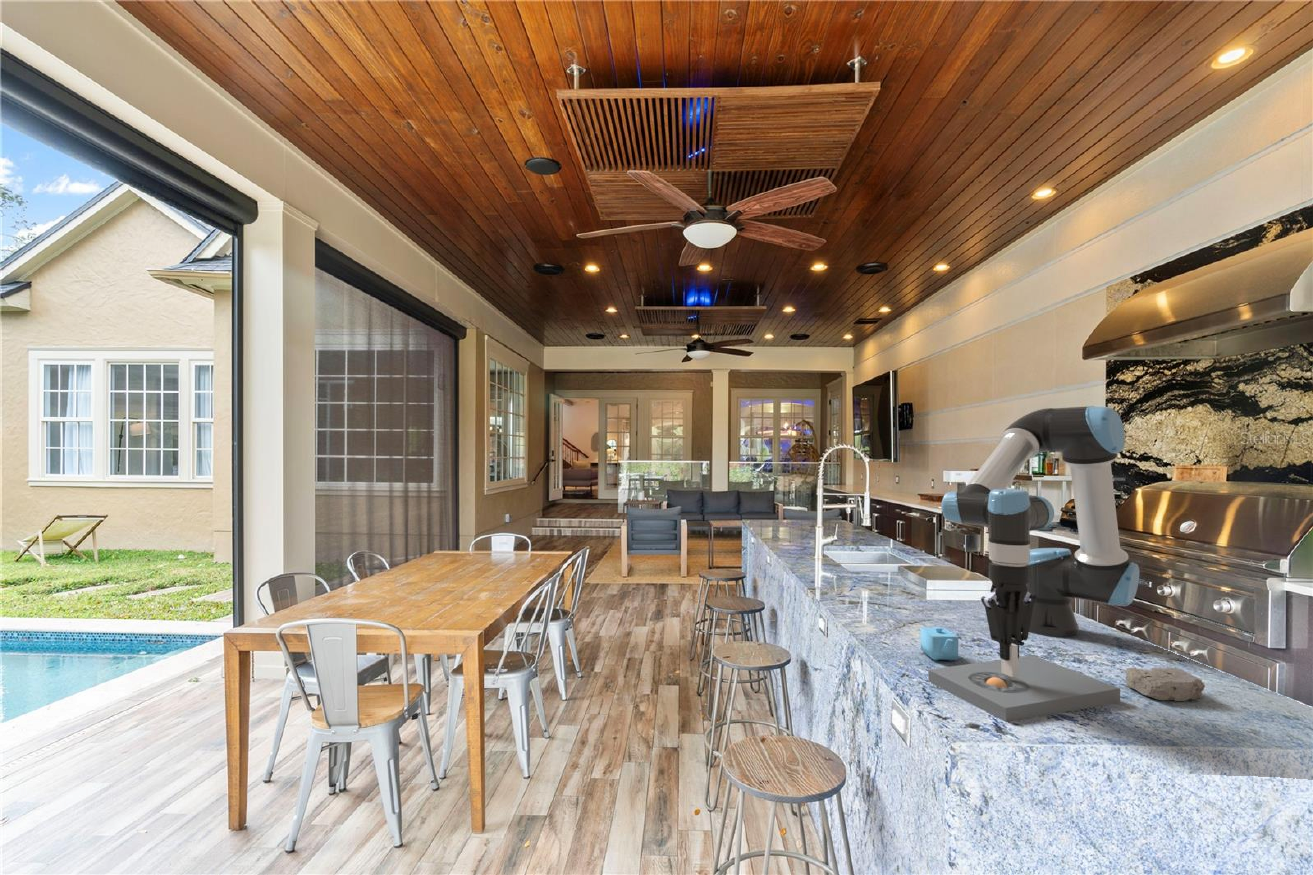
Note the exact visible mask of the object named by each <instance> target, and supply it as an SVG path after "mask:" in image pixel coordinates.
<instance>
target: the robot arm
mask: <svg viewBox="0 0 1313 875" xmlns="http://www.w3.org/2000/svg"><path fill="white" fill-rule="evenodd" d="M1125 432H1126V431H1125V427H1124V425H1123V421H1122V419H1121V416H1120V415H1119V414H1118V412H1117V411H1116V410H1115V409H1113V408H1111V407H1110V406H1094V405H1093V406H1092V405H1089V406H1075V407H1074V406H1073V407H1057V408H1054V407H1053V408H1041V409H1037V410H1033V411H1032V412H1029V413H1027V414H1025V415H1023V416H1022V417H1020V418H1018V419H1017V420H1015V421H1013V423H1011V424H1010V425H1009V426H1008V427H1006V428H1005V430H1004V431H1003V432H1002V433H1001V435H1000V437H999V439H998V442H999V444H998V445H997V446H996V447H995V448H994V449H993V451H992V452H991V454H990V455H989V456H988V457H987V459H986V460H985V462H983V464H982V466H981V467H979V469H978V470H977V472H976V473H975V475H973V477H971V479H970V481H969V482H968V483H967V484H966V485H965V487H964V488H963V489H962V490H961V491H958V490H955V491H949V492H946V493H944V495H943V497H942V500H941V508H940V509H941V512H942V516H943V517H944V519H945V521H948V522H950V523H951V522H952V523H957V524H961V525H972V526H973V525H974V526H983V527H984V526H985V527H988V559H989V560H990V562H989V563H988V578H989V580H990V581H991V587H990V593H989V594H988V595H986V596H983V595H982V597H981V598H980V600H981V602H982V605H983V606H984V610H985V615H986V619H987V625H988V628H989V634H990V635H989V636H990V638H991V641H995V642H997V643H998V644H999V657H1000V658H999V659H1000V660H1001V673H1003V674H1006V675H1008V676H1010V677H1018V659H1019V657H1020V646H1021V647H1022V646H1024V645H1025V642H1024V641H1027V640H1028V638H1029V634H1031V633H1032V634H1034V635H1040V636H1045V637H1051V638H1074V637H1078V636H1079V634H1080V632H1079V631H1080V629H1079V628H1080V626H1079V624H1078V622H1077V619H1076V617H1075V613H1074V611H1073V607H1072V599H1077V600H1084V601H1088V602H1092V603H1093V602H1094V603H1100V604H1105V605H1108V606H1116V607H1117V606H1118V607H1127V606H1129V605H1130V604H1132V603H1133V601H1134V599H1135V597H1136V594H1137V592H1138V586H1139V583H1140V567H1139V564H1137V563H1134V562H1133V561H1131V562H1130V558H1129V553H1127V551H1126V550H1124V549H1122V548H1121V544H1120V536H1119V529H1118V528H1119V527H1118V526H1119V525H1118V518H1117V508H1116V500H1115V491H1114V481H1113V472H1112V471H1113V470H1112V463H1113V462H1114V461H1116V460H1117V459H1118V454H1119V453H1121V452H1122V451H1123V450H1124V448H1125V445H1126V440H1125V437H1126V434H1125ZM1045 452H1049V453H1060V454H1061V458H1062V459H1061V460H1062V462H1064V463H1065V464H1066V465H1068V466H1069V467H1070V476H1071V477H1070V478H1071V482H1072V491H1073V499H1074V507H1075V514H1076V515H1075V516H1076V525H1077V531H1078V539H1079V546H1080V548H1078V549H1077V550H1076V551H1075V552H1074V555H1072V552H1071V550H1070V549H1069V548H1063V547H1040V548H1030V547H1031V543H1030V535H1031V533H1030V532H1032V531H1039V530H1043V529H1044V528H1046V527H1048V526H1049V525H1050V524H1051V523H1052V522H1053V520H1054V518H1055V509H1054V506H1053V505H1052V503H1051V502H1050V501H1049V500H1048V499H1046V498H1045V497H1042V496H1040V495H1031V494H1029V492H1027V491H1026V490H1024V489H1011V488H1008V487H1009V485H1010V484H1011V483H1012V481H1013V480H1014V479H1015V478H1016V476H1017V475H1018V473H1019V472H1020V471H1021V470H1022V467H1023V466H1024V465H1025V463H1026V462H1027V461H1028V460H1031V459H1033V458H1034V457H1036V456H1037V455H1038V453H1045Z"/></svg>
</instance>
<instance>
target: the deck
mask: <svg viewBox="0 0 1313 875" xmlns="http://www.w3.org/2000/svg"><path fill="white" fill-rule="evenodd" d="M927 671H928V674H927V676H928V683H930V682H931V683H930V684H931V685H934V686H936V687H938V688H939V687H940V688H939V689H942V690H944V691H946V692H947V691H948V692H947V693H949V694H951V695H953V696H955V697H956V698H959V699H960V700H963V701H964V700H965V702H966V703H968V704H971V705H972V706H974V707H975V708H978V709H980V710H982V711H984V712H986V714H987V713H988V714H989V715H992V716H994V717H996V718H997V719H999V720H1001V721H1003V722H1005V723H1008V722H1013V721H1019V720H1020V721H1021V720H1024V719H1025V720H1026V719H1031V718H1036V717H1037V716H1038V717H1041V716H1042V717H1043V716H1047V715H1048V716H1049V715H1055V714H1060V713H1066V712H1073V711H1077V710H1083V709H1088V708H1090V709H1091V708H1096V707H1101V706H1106V705H1107V706H1108V705H1112V704H1114V705H1115V704H1119V703H1121V688H1120V687H1118V686H1116V685H1113V684H1109V683H1107V682H1104V681H1102V680H1099V679H1097V678H1095V677H1092V676H1089V675H1086V674H1083V673H1080V672H1079V671H1076V670H1074V669H1070V668H1067V667H1065V666H1062V665H1060V664H1057V663H1055V662H1053V661H1049V660H1047V659H1045V658H1042V657H1038V656H1036V655H1034V654H1030V655H1024V656H1019V659H1018V677H1010V676H1008V675H1006V674H1003V673H1001V659H995V660H988V661H982V662H981V661H980V662H974V663H973V662H972V663H967V664H959V665H952V666H946V667H938V668H933V669H928V670H927ZM992 677H997V678H1000V679H1002V680H1003V681H1004V682H1005V683H1006V685H1007V688H1005V687H997V686H993V685H990V684H988V683H986V682H987V680H988V679H990V678H992Z"/></svg>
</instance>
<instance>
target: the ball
mask: <svg viewBox="0 0 1313 875" xmlns="http://www.w3.org/2000/svg"><path fill="white" fill-rule="evenodd" d="M986 683H988V684H990V685H993V686H997V687H1005V688H1007V685H1006V683H1005V682H1004V681H1003V680H1002V679H1000V678H997V677H992V678H990V679H988V680H987V682H986Z"/></svg>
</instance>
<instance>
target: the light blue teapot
mask: <svg viewBox="0 0 1313 875" xmlns="http://www.w3.org/2000/svg"><path fill="white" fill-rule="evenodd" d="M920 650H921V651H922V652H923V653H925V656H928V657H929V658H930V659H931V660H932V659H933V660H932V661H939V660H943V661H944V660H945V661H946V660H947V661H951V662H952V661H954V660H956V661H957V660H958V661H959V636H957V635H956V634H955V633H953V632H951V631H950V630H949V629H947V628H946V627H942V626H935V627H920Z"/></svg>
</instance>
